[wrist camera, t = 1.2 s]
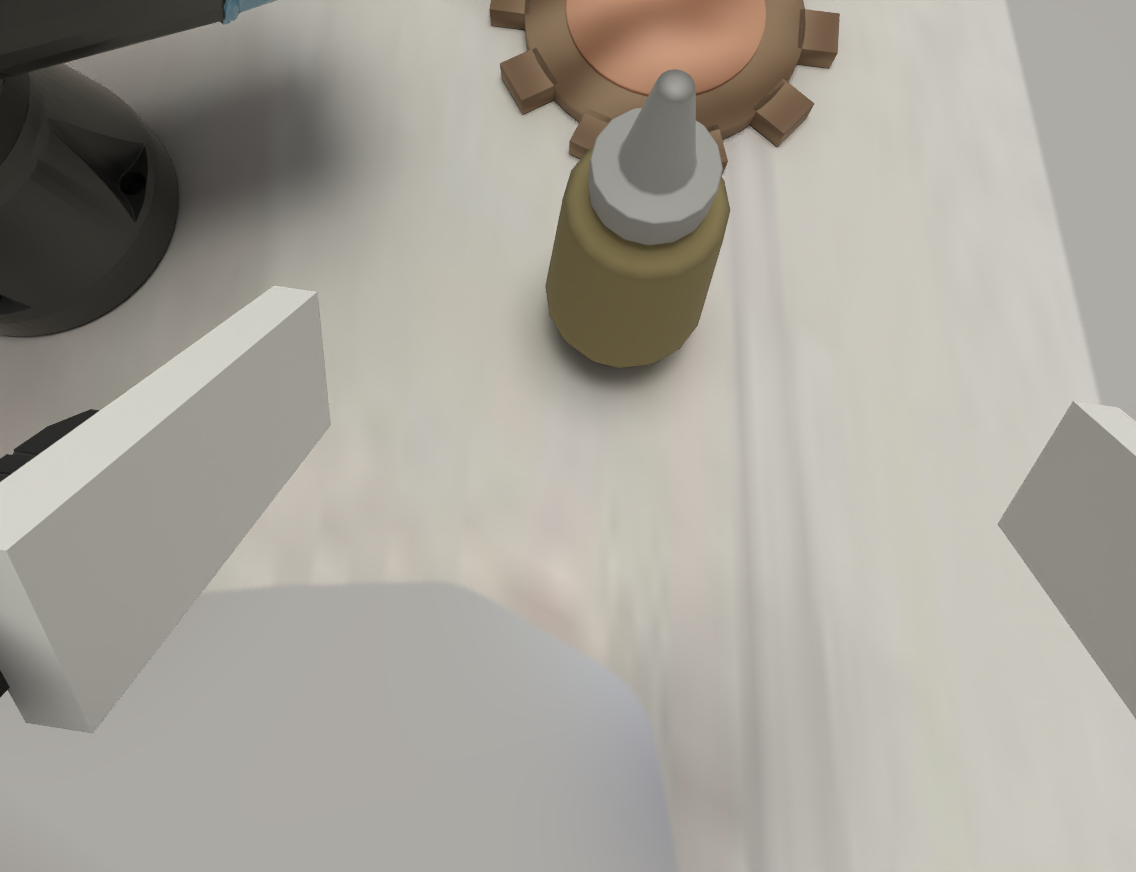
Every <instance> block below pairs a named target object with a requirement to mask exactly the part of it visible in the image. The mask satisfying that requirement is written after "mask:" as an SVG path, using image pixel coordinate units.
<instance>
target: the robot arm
mask: <svg viewBox="0 0 1136 872" xmlns="http://www.w3.org/2000/svg"><path fill="white" fill-rule="evenodd" d="M273 1H276V0H0V335H7V336H37V335H45V334H51V333H56V332H60V331H64V330H67V329H71V328H74V327H76V326H79V325H82V324H84V323H86V322H89V321H91V320H93V319H95V318H97V317H99V316H101V315H103V314H104V313H106V312H108V311H109V310H111V309H112V308H114V307H115V306H117V305H118V304H120V303H121V302H122V301H123V300H125V299H126V298H127V297H128V296H129V295H131V294H132V293H133V292H134V291H135V290H136V289H137V288H138V287H139V286H140V285H141V284H142V283H143V282H144V281H145V279H146V278H147V277H148V276H149V275H150V273H151V272H152V271H153V269H154V268H155V267H156V265H157V263H158V262H159V260H160V259H161V257H162V255H163V253H164V251H165V249H166V247H167V245H168V243H169V241H170V238H171V235H172V232H173V229H174V225H175V221H176V216H177V208H178V186H177V180H176V175H175V171H174V168H173V165H172V162H171V159H170V157H169V155H168V153H167V151H166V149H165V147H164V146H163V144H162V143H161V141H160V140H159V138H158V137H157V136H156V135H155V133H154V132H153V131H152V130H151V129H150V128H149V127H148V126H147V125H146V124H145V122H144V121H143V120H142V119H141V118H140V117H139V116H138V115H137V114H136V113H135V112H134V111H133V110H132V109H131V107H130V106H129V105H128V104H126V103H125V102H124V101H123V100H122V99H121V98H119V97H118V96H117V95H115V94H114V93H113V92H111V91H110V90H109V89H107V88H106V87H104V86H102V85H101V84H99V83H97V82H95V81H93V80H92V79H90V78H88V77H86V76H84V75H83V74H81V73H79V72H77V71H75V70H74V69H72V68H70V67H68V66H66V65H65V64H63V63H65V62H69V61H73V60H76V59H80V58H84V57H88V56H91V55H95V54H99V53H103V52H107V51H110V50H114V49H118V48H122V47H125V46H129V45H133V44H137V43H140V42H144V41H148V40H152V39H155V38H159V37H163V36H167V35H170V34H174V33H178V32H182V31H185V30H189V29H193V28H197V27H200V26H204V25H208V24H212V23H215V22H219V21H220V22H221V23H222V24H228V23H230V21H233V20H235V19H236V18H237V17H238V14H239V13H241V12H243V11H246V10H249V9H252V8H255V7H258V6H261V5H264V4H267V3H270V2H273ZM330 425H331V424H330V414H329V404H328V394H327V384H326V374H325V364H324V353H323V343H322V333H321V323H320V313H319V303H318V293H317V292H315V291H308V290H301V289H295V288H288V287H281V286H273V287H272V288H270V289H269V290H267V291H266V292H265V293H263V294H262V295H260V296H259V297H258V298H256V299H255V300H254V301H252V302H251V303H249V304H248V305H247V306H245V307H244V308H242V309H241V310H240V311H238V312H237V313H235V314H234V315H233V316H231V317H230V318H228V319H227V320H226V321H224V322H223V323H221V324H220V325H219V326H217V327H216V328H214V329H213V330H212V331H210V332H209V333H208V334H206V335H205V336H203V337H202V338H201V339H199V340H198V341H196V342H195V343H194V344H192V345H191V346H189V347H188V348H187V349H185V350H184V351H182V352H181V353H180V354H178V355H177V356H175V357H174V358H173V359H171V360H170V361H168V362H167V363H166V364H164V365H163V366H161V367H160V368H159V369H157V370H156V371H155V372H153V373H152V374H150V375H149V376H148V377H146V378H145V379H143V380H142V381H141V382H139V383H138V384H136V385H135V386H134V387H132V388H131V389H129V390H128V391H127V392H125V393H124V394H122V395H121V396H120V397H118V398H117V399H115V400H114V401H113V402H111V403H110V404H108V405H107V406H106V407H104V408H103V409H102V410H100V411H99V410H92V409H90V410H88V411H85V412H83V413H80V414H78V415H75V416H73V417H70V418H68V419H65V420H63V421H60V422H58V423H55V424H53V425H50V426H48V427H46V428H45V429H43V430H42V431H40V432H39V433H37V434H36V435H35V436H33V437H32V438H30V439H29V440H27V441H26V442H24V443H23V444H21V445H20V446H18V447H17V448H15V449H14V453H13V455H8V454H7V455H5V456H4V457H2V458H1V459H0V697H1V696H2V695H3V694H4V693H5V692H6V691H7V690H8V691H9V693H10V695H11V697H12V698H13V700H14V702H15V704H16V705H17V707H18V709H19V711H20V713H21V714H22V716H23V718H24V720H25V722H26V723H32V724H38V725H45V726H50V727H57V728H64V729H70V730H76V731H82V732H88V733H93V732H94V731H95V730H96V728H97V727H98V726H99V725H100V723H101V722H102V721H103V719H104V718H105V717H106V715H107V714H108V713H109V712H110V710H111V709H112V707H113V706H114V705H115V704H116V702H117V701H118V700H119V699H120V697H121V696H122V695H123V693H124V692H125V691H126V690H127V688H128V687H129V686H130V684H131V683H132V682H133V681H134V679H135V678H136V677H137V675H138V674H139V673H140V671H141V670H142V669H143V668H144V666H145V665H146V663H147V662H148V661H149V660H150V658H151V657H152V656H153V655H154V653H155V652H156V651H157V649H158V648H159V647H160V646H161V644H162V643H163V641H164V640H165V639H166V638H167V636H168V635H169V634H170V633H171V631H172V630H173V629H174V627H175V626H176V625H177V624H178V622H179V621H180V620H181V618H182V617H183V616H184V614H185V613H186V612H187V611H188V609H189V608H190V607H191V605H192V604H193V603H194V601H195V600H196V599H197V598H198V596H199V595H200V594H201V592H202V591H203V590H204V589H205V587H206V586H207V585H208V583H209V582H210V581H211V579H212V578H213V577H214V576H215V574H216V573H217V572H218V570H219V569H220V568H221V567H222V565H223V564H224V563H225V561H226V560H227V559H228V557H229V556H230V555H231V554H232V552H233V551H234V550H235V548H236V547H237V546H238V544H239V543H240V542H241V541H242V539H243V538H244V537H245V535H246V534H247V533H248V532H249V530H250V529H251V528H252V526H253V525H254V524H255V522H256V521H257V520H258V519H259V517H260V516H261V515H262V513H263V512H264V511H265V509H266V508H267V507H268V506H269V504H270V503H271V502H272V500H273V499H274V498H275V497H276V495H277V494H278V493H279V491H280V490H281V489H282V487H283V486H284V485H285V484H286V482H287V481H288V480H289V478H290V477H291V476H292V474H293V473H294V472H295V471H296V469H297V468H298V467H299V465H300V464H301V463H302V462H303V460H304V459H305V458H306V456H307V455H308V454H309V452H310V451H311V450H312V449H313V447H314V446H315V445H316V443H317V442H318V441H319V440H320V438H321V437H322V436H323V434H324V433H325V432H326V430H327V429H328V428H329V427H330ZM998 526H999V527H1000V528H1001V530H1002V531H1003V533H1004V534H1005V535H1006V537H1007V538H1008V540H1009V541H1010V542H1011V544H1012V545H1013V547H1014V548H1015V549H1016V551H1017V552H1018V554H1019V555H1020V557H1021V558H1022V559H1023V561H1024V562H1025V564H1026V565H1027V566H1028V568H1029V569H1030V571H1031V572H1032V573H1033V575H1034V576H1035V578H1036V579H1037V580H1038V582H1039V583H1040V585H1041V586H1042V588H1043V589H1044V590H1045V592H1046V593H1047V595H1048V596H1049V597H1050V599H1051V600H1052V602H1053V603H1054V604H1055V606H1056V607H1057V609H1058V610H1059V611H1060V613H1061V614H1062V616H1063V617H1064V619H1065V620H1066V621H1067V623H1068V624H1069V626H1070V627H1071V628H1072V630H1073V631H1074V633H1075V634H1076V635H1077V637H1078V638H1079V640H1080V641H1081V642H1082V644H1083V645H1084V647H1085V648H1086V650H1087V651H1088V652H1089V654H1090V655H1091V657H1092V658H1093V659H1094V661H1095V662H1096V664H1097V665H1098V666H1099V668H1100V669H1101V671H1102V672H1103V673H1104V675H1105V676H1106V678H1107V679H1108V681H1109V682H1110V683H1111V685H1112V686H1113V688H1114V689H1115V690H1116V692H1117V693H1118V695H1119V696H1120V697H1121V699H1122V700H1123V702H1124V703H1125V704H1126V706H1127V707H1128V709H1129V710H1130V711H1131V713H1132V714H1133V716H1134V717H1135V719H1136V422H1135V421H1134V420H1133V419H1132V418H1130V417H1129V416H1128V415H1127V414H1125V413H1124V412H1123V411H1122V410H1121V409H1119V408H1117V407H1110V406H1103V405H1097V404H1090V403H1083V402H1076V401H1073V402H1072V404H1071V405H1070V407H1069V409H1068V410H1067V412H1066V414H1065V415H1064V417H1063V419H1062V420H1061V422H1060V423H1059V425H1058V427H1057V428H1056V430H1055V432H1054V433H1053V435H1052V436H1051V438H1050V440H1049V441H1048V443H1047V445H1046V446H1045V448H1044V449H1043V451H1042V453H1041V454H1040V456H1039V458H1038V459H1037V461H1036V462H1035V464H1034V466H1033V467H1032V469H1031V471H1030V472H1029V474H1028V475H1027V477H1026V479H1025V480H1024V482H1023V484H1022V485H1021V487H1020V488H1019V490H1018V492H1017V493H1016V495H1015V497H1014V498H1013V500H1012V501H1011V503H1010V505H1009V506H1008V508H1007V510H1006V511H1005V513H1004V514H1003V516H1002V518H1001V519H1000V521H999V523H998Z"/></svg>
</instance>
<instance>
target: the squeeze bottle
mask: <svg viewBox="0 0 1136 872" xmlns="http://www.w3.org/2000/svg"><path fill="white" fill-rule="evenodd" d="M722 171H723V167H722V162H721V157H720V152H719V147H718V145H717V143H716V142H715V140H714V139H713V138H712V136H711V135H710V133H709V132H708V130H707V129H706V127H705V126H704V125H702V124H701V123H699V122H698V121H696V87H695V82H694V80H693V79H692V77H691V76H690V75H689V74H687V73H686V72H684V71H681V70H677V69H674V70H668V71H666V72H664V73H662V74H661V75H660V76H659V78H658V79H657V81H656V83H655V84H654V86H653V88H652V90H651V92H650V94H649V96H648V98H647V100H646V101H645V103H644V105H643V107H642V108H635V109H632V110H630V111H628V112H626V113H624V114H622V115H620V116H618V117H616V118H614V119H612V120H611V121H610V122H609V123H608V125H607V126H606V127H605V128H604V129H603V130H602V132H601V133H600V134H599V135H598V136H597V137H596V141H595V144H594V146H593V147H591V148H590V149H589V150H588V152H587V153H586V154H585V155H584V156H583V157H582V159H581V160H580V161H579V162H578V163H577V164H576V166H575V167H574V168H573V169H572V170H571V173H570V176H569V180H568V183H567V187H566V190H565V193H564V197H563V201H562V206H561V211H560V216H559V221H558V226H557V231H556V236H555V241H554V246H553V251H552V256H551V261H550V266H549V271H548V276H547V281H546V293H547V301H548V308H549V315H550V317H551V319H552V320H553V322H554V324H555V325H556V327H557V329H558V330H559V332H560V333H561V335H562V337H563V338H564V340H565V341H566V342H567V343H568V344H570V345H571V346H572V347H574V348H575V349H577V350H578V351H579V352H581V353H582V354H583V355H585V356H586V357H587V358H589V359H590V360H592V361H594V362H597V363H601V364H605V365H608V366H612V367H616V368H623V367H631V366H639V365H647V364H653V363H655V362H657V361H659V360H660V359H662V358H664V357H666V356H668V355H669V354H671V353H673V352H675V351H677V350H678V349H680V348H681V346H682V345H683V344H684V342H685V341H686V340H687V338H688V337H689V336H690V335H691V333H692V332H693V331H694V329H695V328H696V327H697V325H698V322H699V319H700V316H701V312H702V309H703V306H704V302H705V299H706V296H707V292H708V289H709V285H710V282H711V279H712V275H713V272H714V269H715V265H716V262H717V259H718V255H719V252H720V248H721V245H722V242H723V238H724V234H725V230H726V226H727V221H728V217H729V213H730V207H729V202H728V197H727V192H726V187H725V182H724V180H723V178H722V177H721V175H722Z"/></svg>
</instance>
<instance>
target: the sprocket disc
mask: <svg viewBox="0 0 1136 872" xmlns="http://www.w3.org/2000/svg"><path fill="white" fill-rule="evenodd" d="M839 16H840V14H838V13H830V12H822V11H814V10H806V9H805V8H804V2H803V0H491V4H490V17H491V26H499V27H507V28H515V29H523V30H525V31H526V41H527V47H528V51H527V52H524V53H522V54H520V55H518V56H515V57H513V58H511V59H509V60H507V61H504V62H502V63H500V68H501V77H502V80H503V82H504V83H505V85H506V87H507V88H508V90H509V92H510V93H511V95H512V97H513V98H514V100H515V102H516V103H517V105H518V107H519V108H520V110H521V112H522V113H523V114H525V113H527V112H529V111H532V110H534V109H536V108H538V107H540V106H542V105H545V104H547V103H549V102H551V101H553V100H555V102H556V103H557V104H558V105H559V106H560V107H562V108H563V109H564V110H565V111H566V112H567V113H568V114H569V115H570V116H572V117H573V118H574V119H576V120H577V121H578V122H580V123H579V125H578V127H577V128H576V130H575V132H574V134H573V136H572V138H571V140H570V148H569V154H570V155H573V156H575V157H577V158H579V159H582V157H583V156H584V155H585V154H586V153H587V152H588V150H589V149H590V148H591V147H593V146H594V144H595V141H596V137H597V136H598V135H599V134H600V133H601V132H602V130H603V129H604V128H605V127H606V126H607V125H608V123H609V122H610V121H611V120H612V119H614V118H616V117H618V116H620V115H622V114H624V113H626V112H628V111H630V110H632V109H635V108H642V107H643V105H644V103H645V101H646V100H647V98H648V96H649V94H650V92H651V90H652V88H653V86H654V84H655V83H656V81H657V79H658V78H659V76H660V75H661V74H662V73H664V72H666V71H668V70H674V69H677V70H681V71H684V72H686V73H687V74H689V75H690V76H691V77H692V79H693V80H694V82H695V87H696V121H698V122H699V123H701V124H702V125H704V126H705V127H706V129H707V130H708V132H709V133H710V135H711V136H712V138H713V139H714V140H715V142H716V143H717V145H718V147H719V152H720V157H721V162H722V167H723V171H722V174H723V172H724V169H725V167H726V165H727V162H728V160H727V156H726V152H725V149H724V145H723V141H722V140H723V139H725V138H727V137H730V136H732V135H734V134H736V133H738V132H740V131H742V130H743V129H745V128H746V127H748V126H749V125H751V126H752V127H753V128H754V129H756V130H757V131H758V132H759V133H761V134H762V135H763V136H764V137H766V138H767V139H768V140H769V141H771V142H772V143H773V144H774V145H775V146H777V147H778V146H779V145H780V144H781V143H782V142H783V141H784V140H785V139H786V138H787V137H788V136H789V135H790V134H791V133H792V132H793V131H794V130H795V129H796V128H797V127H798V126H799V125H800V124H801V123H802V122H803V121H804V120H805V119H806V118H807V116H808V114H809V113H810V111H811V109H812V107H813V105H814V103H813V102H812V101H811V100H809V99H808V98H807V97H806V96H804V95H803V94H802V93H801V92H799V91H798V90H797V89H796V88H794V87H793V86H792V85H790V84H789V83H788V81H789V79H790V77H791V75H792V73H793V71H794V68H795V66H796V64H800V65H808V66H816V67H824V68H830V66H831V64H832V62H833V60H834V59H835V57H836V55H837V52H838V34H839Z"/></svg>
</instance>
